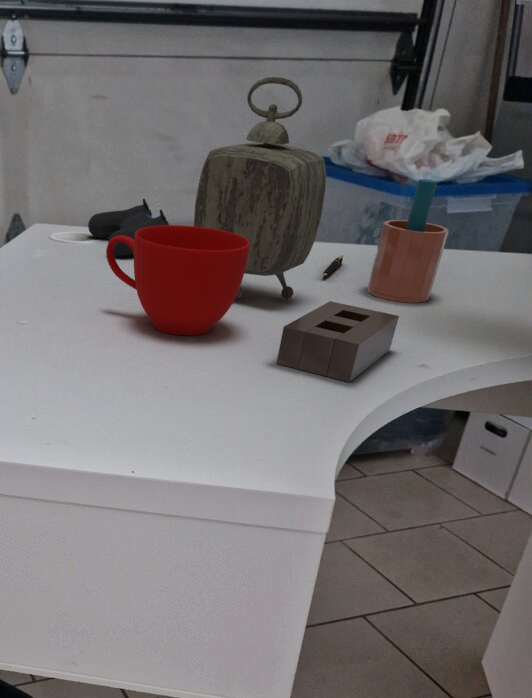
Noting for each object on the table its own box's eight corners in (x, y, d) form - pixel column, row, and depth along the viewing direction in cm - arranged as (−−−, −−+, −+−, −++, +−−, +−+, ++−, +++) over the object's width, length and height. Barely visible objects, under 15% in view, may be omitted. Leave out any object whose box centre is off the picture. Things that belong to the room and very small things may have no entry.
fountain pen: (326, 281, 121) (328, 270, 120) (318, 280, 122) (320, 269, 121) (344, 263, 132) (346, 253, 131) (336, 261, 132) (338, 252, 132)
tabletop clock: (304, 300, 112) (348, 82, 97) (277, 313, 105) (321, 83, 91) (208, 279, 118) (237, 72, 104) (178, 291, 112) (204, 72, 97)
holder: (389, 350, 95) (399, 315, 93) (349, 382, 86) (359, 344, 83) (322, 335, 99) (329, 300, 97) (276, 363, 89) (283, 326, 87)
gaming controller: (123, 276, 126) (181, 240, 125) (107, 241, 123) (166, 205, 122) (97, 250, 139) (149, 218, 138) (82, 219, 136) (134, 185, 135)
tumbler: (435, 294, 119) (455, 227, 113) (419, 306, 113) (439, 235, 108) (377, 283, 122) (394, 217, 117) (359, 294, 116) (376, 225, 111)
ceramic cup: (126, 299, 107) (133, 215, 101) (250, 325, 101) (266, 237, 95) (78, 322, 97) (83, 231, 91) (212, 352, 91) (227, 256, 85)
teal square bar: (409, 290, 117) (439, 180, 109) (404, 293, 116) (434, 182, 108) (392, 286, 118) (421, 178, 110) (387, 290, 117) (416, 180, 109)
